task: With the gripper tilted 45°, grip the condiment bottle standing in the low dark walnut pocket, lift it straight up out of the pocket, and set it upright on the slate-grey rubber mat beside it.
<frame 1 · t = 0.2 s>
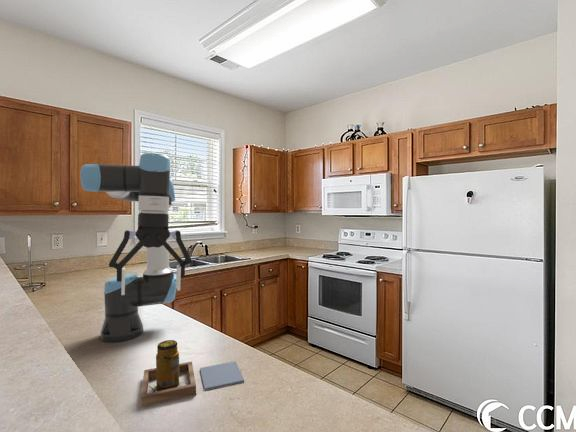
hand: (151, 291, 85), 28 cm above the worktop, tool pointing down, fingers open, 13 cm apart
mat: (221, 375, 94), on the worktop
condiment: (169, 387, 88), resting in pocket
pocket: (169, 386, 88), on the worktop
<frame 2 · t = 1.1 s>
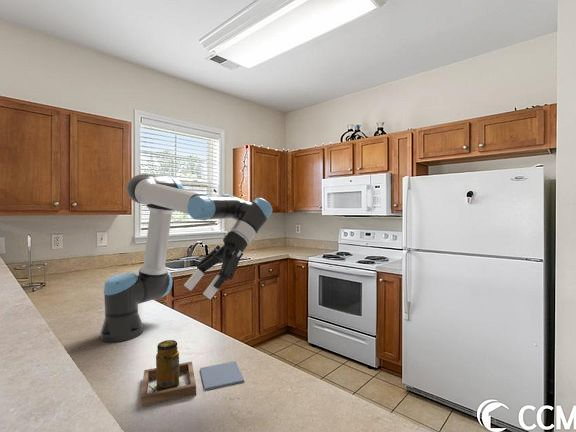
hand: (196, 292, 93), 25 cm above the worktop, tool tilted 45°, fingers open, 13 cm apart
nothing on the worktop moved.
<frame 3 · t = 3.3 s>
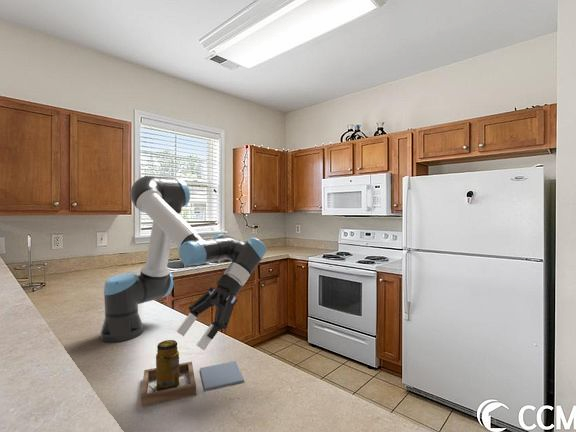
hand: (189, 340, 91), 12 cm above the worktop, tool tilted 45°, fingers open, 13 cm apart
nothing on the worktop moved.
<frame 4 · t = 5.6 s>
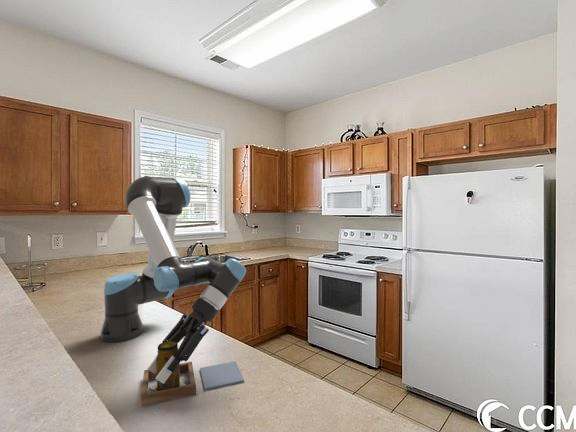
hand: (155, 376, 86), 4 cm above the worktop, tool tilted 45°, fingers closed on condiment, 6 cm apart
condiment: (169, 388, 88), resting in pocket, touching gripper
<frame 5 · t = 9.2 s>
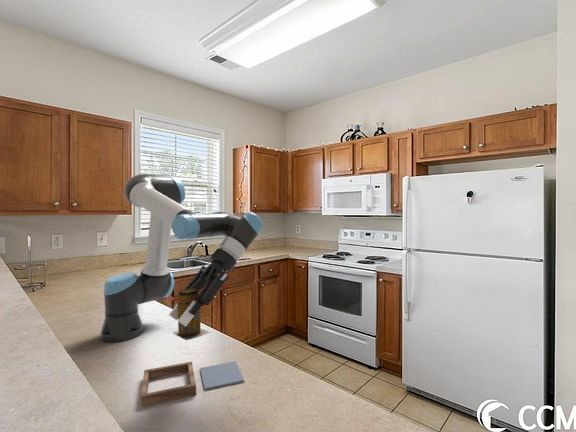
hand: (177, 320, 87), 19 cm above the worktop, tool tilted 45°, fingers closed on condiment, 6 cm apart
condiment: (190, 333, 89), point 14 cm above the worktop, touching gripper
when the fingers open (6 cm above the worktop, at t = 12.5 s): condiment drops 1 cm, resting on mat.
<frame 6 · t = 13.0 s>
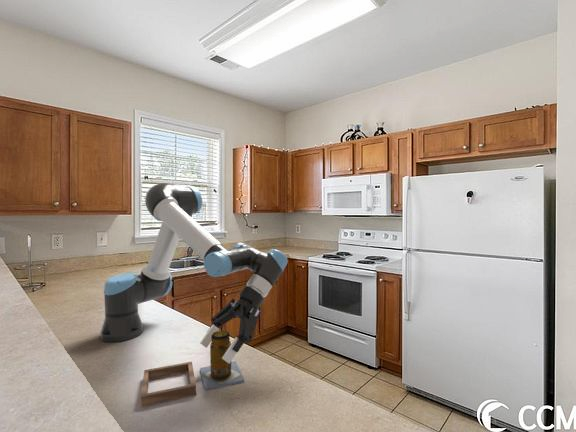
hand: (213, 353, 92), 8 cm above the worktop, tool tilted 45°, fingers open, 13 cm apart
condiment: (222, 375, 93), resting on mat
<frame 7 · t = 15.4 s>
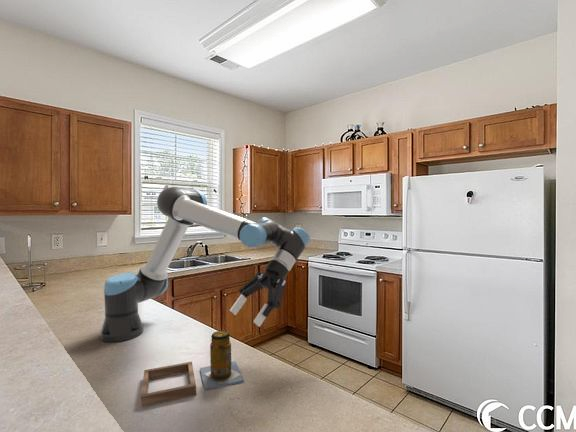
hand: (243, 318, 100), 15 cm above the worktop, tool tilted 45°, fingers open, 13 cm apart
nothing on the worktop moved.
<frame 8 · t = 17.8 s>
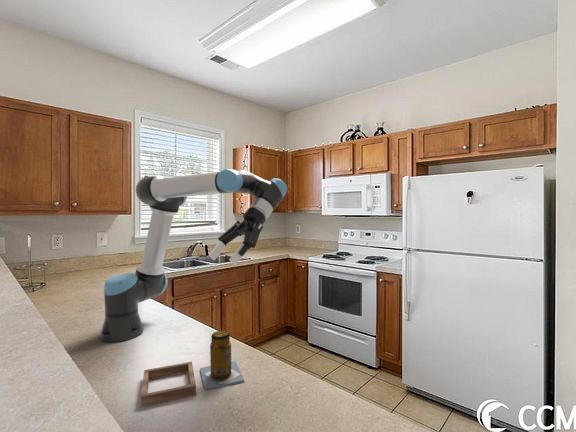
hand: (221, 260, 103), 33 cm above the worktop, tool tilted 45°, fingers open, 13 cm apart
nothing on the worktop moved.
at the end: condiment inside the target area on the mat (0.8 cm from its centre), point 0.4 cm above the mat's base; condiment tilted 0°; the gripper is holding nothing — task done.
